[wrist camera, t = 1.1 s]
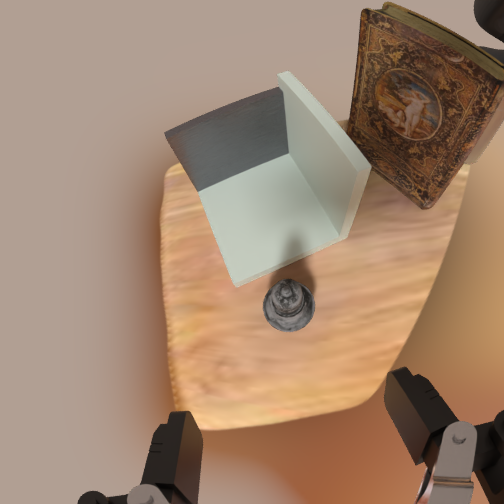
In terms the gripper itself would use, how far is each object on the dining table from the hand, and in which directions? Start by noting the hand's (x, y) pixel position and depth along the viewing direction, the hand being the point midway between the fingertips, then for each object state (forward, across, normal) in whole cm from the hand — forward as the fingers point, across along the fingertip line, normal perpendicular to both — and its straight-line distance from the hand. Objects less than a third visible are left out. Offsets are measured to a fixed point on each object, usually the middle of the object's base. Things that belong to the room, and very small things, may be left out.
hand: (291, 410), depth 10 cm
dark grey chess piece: (+24, -2, +9) cm, 26 cm away
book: (+33, -23, -5) cm, 41 cm away
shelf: (+32, -2, -2) cm, 33 cm away
